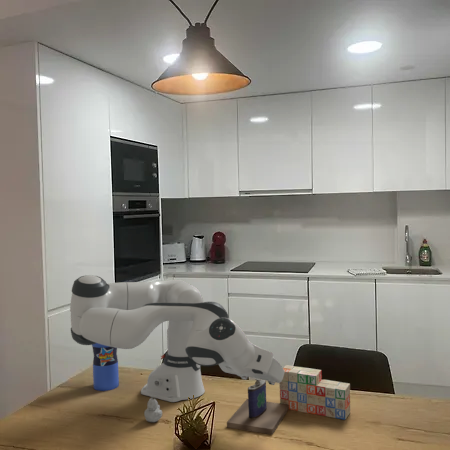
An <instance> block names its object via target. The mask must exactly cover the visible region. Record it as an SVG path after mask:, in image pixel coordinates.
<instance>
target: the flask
mask: <svg viewBox="0 0 450 450" xmlns="http://www.w3.org/2000/svg"><path fill="white" fill-rule="evenodd" d="M255 380H256V381H255V383H254V384H252V385H250V386H249V387H248V388H247V399H248V407H249V418H250V419H255V418H257V417H259V416H261V415H262V414H263V413H264V412H265V411H266V409H267V406H266V402H267V382H266V381H267V380H262V379H257V378H255Z"/></svg>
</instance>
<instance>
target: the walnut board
mask: <svg viewBox="0 0 450 450" xmlns="http://www.w3.org/2000/svg"><path fill="white" fill-rule="evenodd" d="M266 406H267V409H266V411H265V412H264V413H263V414H262V415H261V416H259V417H257V418H255V419H250V418H249V407H248V398H246V400H244V402H243V403H242V404H241V405H240V406H239V407H238V408H237V409H236V411H235V412H234V413H233V414H232V415H231V417H230V418H229V419H228V420H227V422H226V427H227V428H229V429H237V430H242V431H250V432H255V433H262V434H266V435H267V434H268V435H274V434H275V432H276V430H277V428H278V427H279V425H280V424H281V422H282V421H283V419H284V417H285V416H286V414H287V412H288V411H289V410H290V409H289V408H288V404H281V403H280V402H271V401H266Z"/></svg>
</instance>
